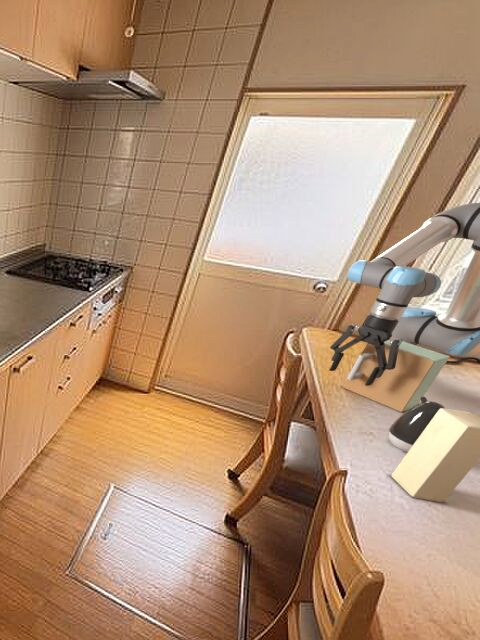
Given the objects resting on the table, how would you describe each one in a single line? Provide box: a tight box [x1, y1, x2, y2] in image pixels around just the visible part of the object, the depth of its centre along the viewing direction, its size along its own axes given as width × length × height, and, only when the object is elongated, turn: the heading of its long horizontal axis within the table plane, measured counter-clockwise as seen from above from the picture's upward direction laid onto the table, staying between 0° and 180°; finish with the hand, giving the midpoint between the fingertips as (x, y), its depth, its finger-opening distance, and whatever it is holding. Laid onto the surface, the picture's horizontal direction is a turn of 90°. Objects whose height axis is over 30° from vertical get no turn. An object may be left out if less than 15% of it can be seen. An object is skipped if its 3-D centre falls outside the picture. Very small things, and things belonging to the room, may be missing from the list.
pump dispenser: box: [388, 396, 446, 453], centre depth 116 cm, size 10×10×15 cm
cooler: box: [384, 340, 451, 412], centre depth 143 cm, size 10×17×19 cm, turn 25°
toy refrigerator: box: [390, 408, 480, 503], centre depth 98 cm, size 8×7×21 cm
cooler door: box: [342, 342, 435, 413], centre depth 139 cm, size 8×17×19 cm, turn 25°
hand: (349, 377), depth 143 cm, fingers open, 10 cm apart
